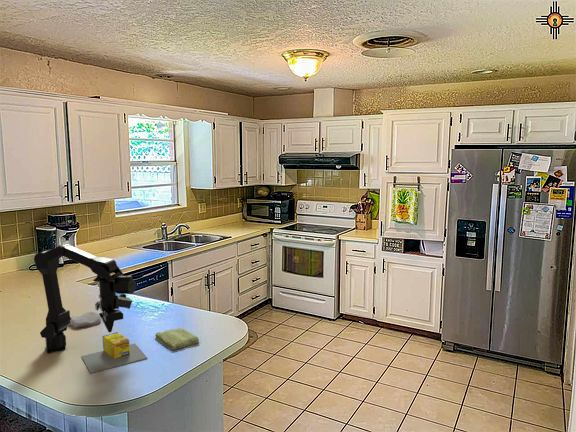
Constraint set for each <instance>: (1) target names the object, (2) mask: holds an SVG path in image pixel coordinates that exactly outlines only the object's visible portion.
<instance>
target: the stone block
mask: <svg viewBox="0 0 576 432" xmlns="http://www.w3.org/2000/svg"><path fill="white" fill-rule="evenodd" d="M70 318H71V320H70V324H69V325H70V326H71V327H73V328H74V329H78V328H84V327H90V326H95V325H98V324H100V323H102V319H101V317H100V315H99V313H97V312H96V311H93V310H92V311H87V312H85V313H84V312H83V313H82V314H80V315H77V316H75V315H74V316H73V315H72V316H70Z"/></svg>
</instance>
